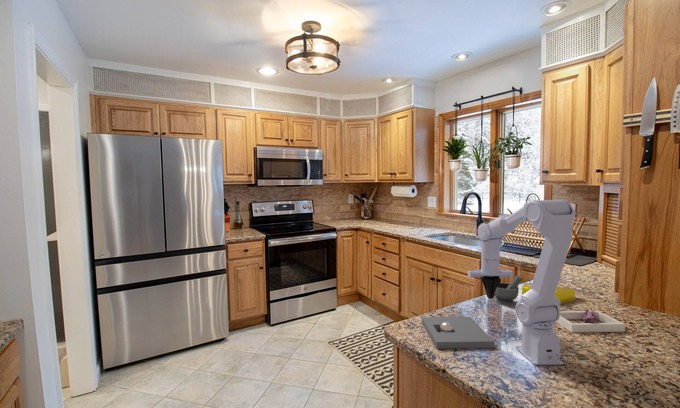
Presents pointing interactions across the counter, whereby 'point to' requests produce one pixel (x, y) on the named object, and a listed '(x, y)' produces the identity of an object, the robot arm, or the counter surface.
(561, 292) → the element tile
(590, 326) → the vegetable tray
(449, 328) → the steel ball
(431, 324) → the hole board
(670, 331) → the counter surface
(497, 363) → the counter surface
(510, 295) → the mortar and pestle
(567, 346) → the counter surface
